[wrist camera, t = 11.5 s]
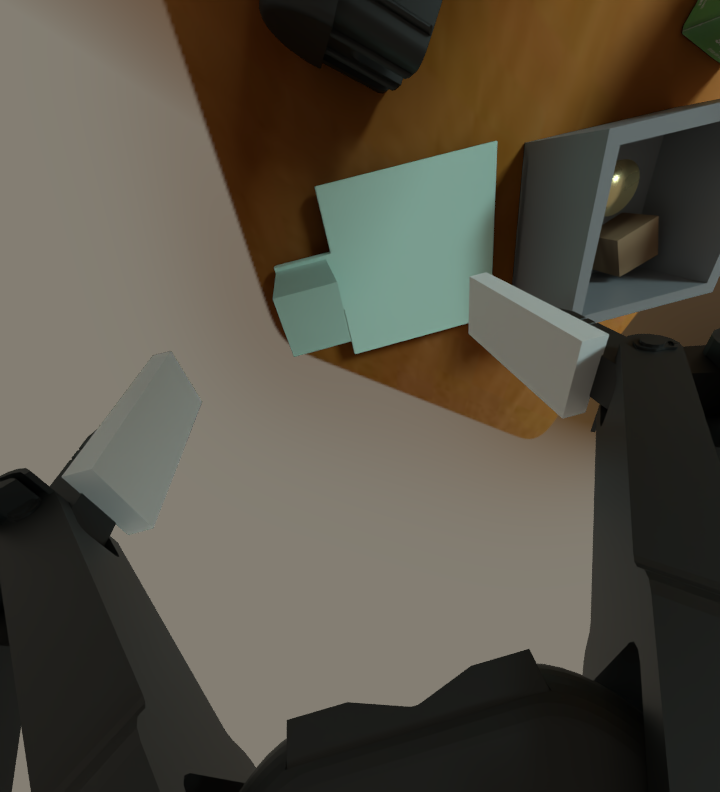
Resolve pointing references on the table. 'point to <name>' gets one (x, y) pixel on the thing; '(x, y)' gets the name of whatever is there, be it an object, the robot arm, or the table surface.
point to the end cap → (356, 35)
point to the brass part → (622, 186)
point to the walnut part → (626, 243)
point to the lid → (393, 254)
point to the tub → (622, 211)
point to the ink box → (705, 27)
